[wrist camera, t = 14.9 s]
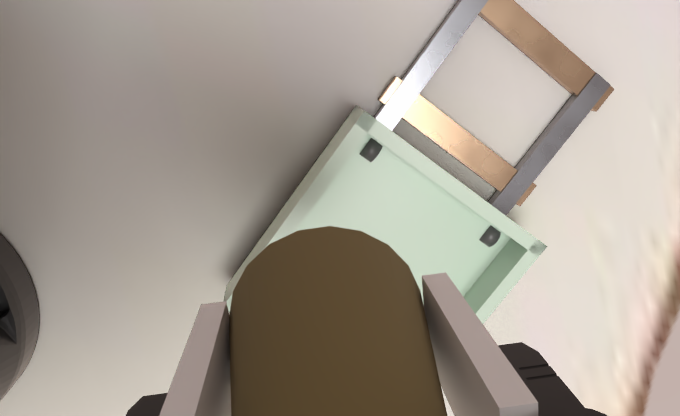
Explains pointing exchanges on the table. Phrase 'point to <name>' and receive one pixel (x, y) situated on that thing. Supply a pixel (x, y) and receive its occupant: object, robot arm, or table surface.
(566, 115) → the rails
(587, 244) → the table surface
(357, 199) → the shallow green tray
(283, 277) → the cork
